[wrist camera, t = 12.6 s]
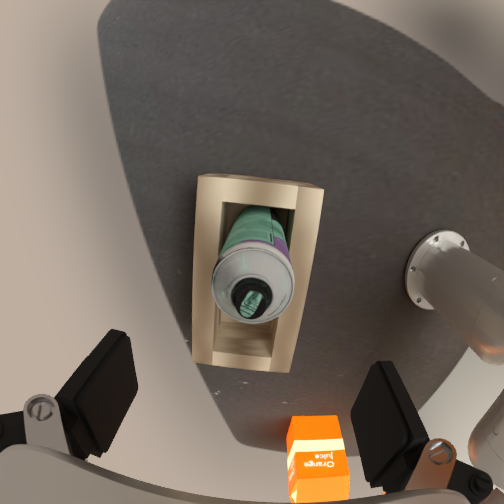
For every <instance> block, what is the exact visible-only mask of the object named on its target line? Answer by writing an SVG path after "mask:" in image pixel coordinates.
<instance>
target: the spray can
mask: <svg viewBox="0 0 504 504" xmlns="http://www.w3.org/2000/svg"><path fill="white" fill-rule="evenodd" d="M294 284H295V279H294V272H293V268H292V264H291V260H290V256H289V252H288V248H287V244H286V240H285V236H284V232H283V228H282V224H281V221H280V218H279V216H278V214H277V213H276V212H275V210H274V209H272V208H271V207H269V206H262V205H253V204H252V205H249V206H247V207H246V208H244V209H243V210H242V211H241V212H240V214H239V215H238V217H237V219H236V221H235V223H234V225H233V227H232V230H231V232H230V234H229V236H228V238H227V240H226V242H225V245H224V247H223V249H222V251H221V253H220V255H219V258H218V260H217V262H216V264H215V267H214V269H213V273H212V281H211V291H212V295H213V298H214V300H215V302H216V304H217V306H218V307H219V308H220V309H221V311H223V312H224V313H225V314H226V315H227V316H229V317H231V318H232V319H234V320H237V321H239V322H243V323H249V324H257V323H264V322H267V321H270V320H272V319H274V318H276V317H278V316H279V315H280V314H282V313H283V312H284V311H285V310H286V308H287V307H288V306H289V304H290V302H291V300H292V297H293V294H294Z"/></svg>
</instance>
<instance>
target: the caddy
mask: <svg viewBox="0 0 504 504" xmlns="http://www.w3.org/2000/svg"><path fill="white" fill-rule="evenodd" d="M323 194H324V190H323V189H321V188H319V187H317V186H315V185H313V184H310V183H303V182H296V181H288V180H280V179H272V178H263V177H254V176H244V175H234V174H222V173H209V174H205V175H200V176H198V186H197V200H196V215H195V233H194V256H193V290H192V362H196V363H202V364H209V365H216V366H223V367H231V368H239V369H249V370H259V371H270V372H283V373H289V371H290V367H291V362H292V358H293V354H294V350H295V345H296V341H297V337H298V332H299V328H300V323H301V318H302V314H303V309H304V304H305V299H306V294H307V289H308V284H309V279H310V273H311V268H312V263H313V257H314V251H315V245H316V240H317V234H318V227H319V221H320V215H321V208H322V201H323ZM252 204H253V205H262V206H269V207H271V208H272V209H274V210H275V212H276V213H277V214H278V216H279V218H280V221H281V224H282V228H283V232H284V236H285V240H286V244H287V248H288V252H289V256H290V260H291V264H292V268H293V272H294V279H295V284H294V294H293V297H292V300H291V302H290V304H289V306H288V307H287V308H286V310H285V311H284V312H283V313H282V314H280V315H279V316H278V317H276V318H274V319H272V320H270V321H267V322H264V323H257V324H249V323H243V322H239V321H237V320H234V319H232V318H231V317H229V316H227V315H226V314H225V313H224V312H223V311H221V309H220V308H219V307H218V306H217V304H216V302H215V300H214V298H213V295H212V291H211V281H212V273H213V269H214V267H215V264H216V262H217V260H218V258H219V255H220V253H221V251H222V249H223V247H224V245H225V242H226V240H227V238H228V236H229V234H230V232H231V230H232V227H233V225H234V223H235V221H236V219H237V217H238V215H239V214H240V212H241V211H242V210H243V209H244V208H246V207H247V206H249V205H252Z"/></svg>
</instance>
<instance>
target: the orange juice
mask: <svg viewBox="0 0 504 504" xmlns="http://www.w3.org/2000/svg"><path fill="white" fill-rule="evenodd" d="M287 456H288V460H287V461H288V480H289V496H290V499H291V502H292V503H310V502H327V501H339V500H348V495H349V482H350V474H349V469H348V464H347V459H346V454H345V448H344V443H343V439H342V436H341V431H340V427H339V422H338V418H337V415H332V416H292V420H291V424H290V427H289V430H288V434H287Z"/></svg>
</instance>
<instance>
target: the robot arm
mask: <svg viewBox="0 0 504 504" xmlns="http://www.w3.org/2000/svg"><path fill="white" fill-rule="evenodd" d="M405 286H406V291H407V293H408V296H409V297H410V298H411V300H412V301H413V302H414V303H415V304H416V305H417V306H419V307H421V308H423V309H431V310H432V309H435V310H436V311H437V312H438V313H439V314H440V315H441V316H442V317H443V318H444V319H445V320H446V321H447V322H448V323H449V324H450V326H451V327H452V328H453V329H454V330H455V331H456V332H457V333H458V334H459V335H460V336H461V337H462V339H463V340H464V341H465V342H466V343H467V344H468V345H469V346H470V348H471V349H472V350H473V351H474V352H475V353H476V354H477V355H478V356H479V357H480V358H481V359H482V360H483V361H485V362H486V363H488V364H491V365H504V271H502V270H500V269H499V268H497V267H496V266H494V265H492V264H491V263H489V262H487V261H485V260H484V259H482V258H480V257H479V256H477V255H475V254H473V253H471V252H470V250H469V247H468V245H467V243H466V241H465V239H464V238H463V237H462V236H461V235H459V234H458V233H456V232H454V231H452V230H447V229H443V230H437V231H434V232H432V233H430V234H429V235H427V236H426V237H425V238H423V239H422V240H421V241H420V242H419V244H418V245H417V246H416V247H415V249H414V250H413V252H412V254H411V256H410V258H409V260H408V263H407V267H406V272H405ZM137 390H138V382H137V377H136V372H135V366H134V361H133V354H132V348H131V342H130V338H129V337H128V336H127V335H126V333H125V332H123V331H119V330H114V329H111V330H110V331H109V332H108V333H107V334H106V336H104V338H103V339H102V340H101V341H100V342H99V344H98V345H97V346H96V347H95V349H94V350H93V351H92V352H91V353H90V355H89V356H87V357H86V358H85V360H84V361H83V362H82V363H81V365H80V366H79V367H78V368H77V369H76V371H75V372H74V373H73V374H72V376H71V377H70V378H69V380H68V381H67V382H66V383H65V384H64V386H63V387H62V388H61V390H60V391H59V392H58V394H57V395H56V396H55V397H54V398H53V397H51V396H49V395H46V394H38V395H35V396H32V397H31V398H29V399H28V401H26V403H25V405H24V410H23V411H20V412H14V413H8V414H2V415H0V504H504V493H503V492H501V491H500V490H499V489H498V488H495V489H494V490H493V484H495V485H496V486H498V487H499V488H501V489H503V490H504V389H503V391H502V392H501V394H500V395H499V396H498V398H497V399H496V400H495V402H494V403H493V404H492V406H491V407H490V408H489V409H488V411H487V412H486V413H485V415H484V416H483V417H482V418H481V420H480V421H479V422H478V424H477V425H476V427H475V428H474V430H473V431H472V433H471V435H470V438H469V442H468V454H469V458H470V461H471V463H472V465H473V466H474V467H472V466H470V465H468V464H465V463H463V462H461V461H459V460H457V459H456V456H457V453H456V449H455V448H454V446H453V445H452V444H451V443H450V442H449V441H447V440H444V439H440V438H438V439H433V440H430V439H429V437H428V434H427V432H426V430H425V427H424V425H423V423H422V421H421V419H420V417H419V414H418V412H417V410H416V408H415V406H414V404H413V402H412V400H411V398H410V396H409V394H408V392H407V390H406V388H405V386H404V384H403V382H402V380H401V378H400V376H399V374H398V372H397V370H396V368H395V366H394V364H393V363H392V361H377V362H376V363H375V364H373V365H372V366H371V368H370V370H369V372H368V375H367V377H366V379H365V381H364V384H363V386H362V388H361V390H360V392H359V395H358V397H357V399H356V401H355V403H354V405H353V407H352V409H351V420H352V424H353V428H354V432H355V436H356V440H357V445H358V449H359V453H360V457H361V462H362V466H363V470H364V475H365V479H366V481H367V482H370V486H371V488H375V487H381V486H382V487H383V491H384V492H383V494H382V495H378V496H371V497H364V498H357V499H348V500H339V501H327V502H310V503H270V502H269V503H268V502H252V501H240V500H231V499H223V498H216V497H209V496H202V495H197V494H192V493H187V492H182V491H178V490H173V489H169V488H165V487H161V486H157V485H153V484H150V483H146V482H143V481H139V480H136V479H133V478H130V477H127V476H124V475H121V474H118V473H115V472H112V471H109V470H106V469H104V468H101V467H99V466H96V465H94V464H91V463H89V462H88V461H87V458H88V456H89V455H90V454H92V455H94V456H97V457H99V458H100V457H101V455H102V453H103V452H104V453H106V452H107V451H108V449H109V447H110V445H111V443H112V441H113V439H114V437H115V435H116V433H117V431H118V429H119V427H120V425H121V423H122V421H123V419H124V417H125V415H126V413H127V411H128V409H129V407H130V405H131V403H132V401H133V399H134V398H135V396H136V393H137Z"/></svg>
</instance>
